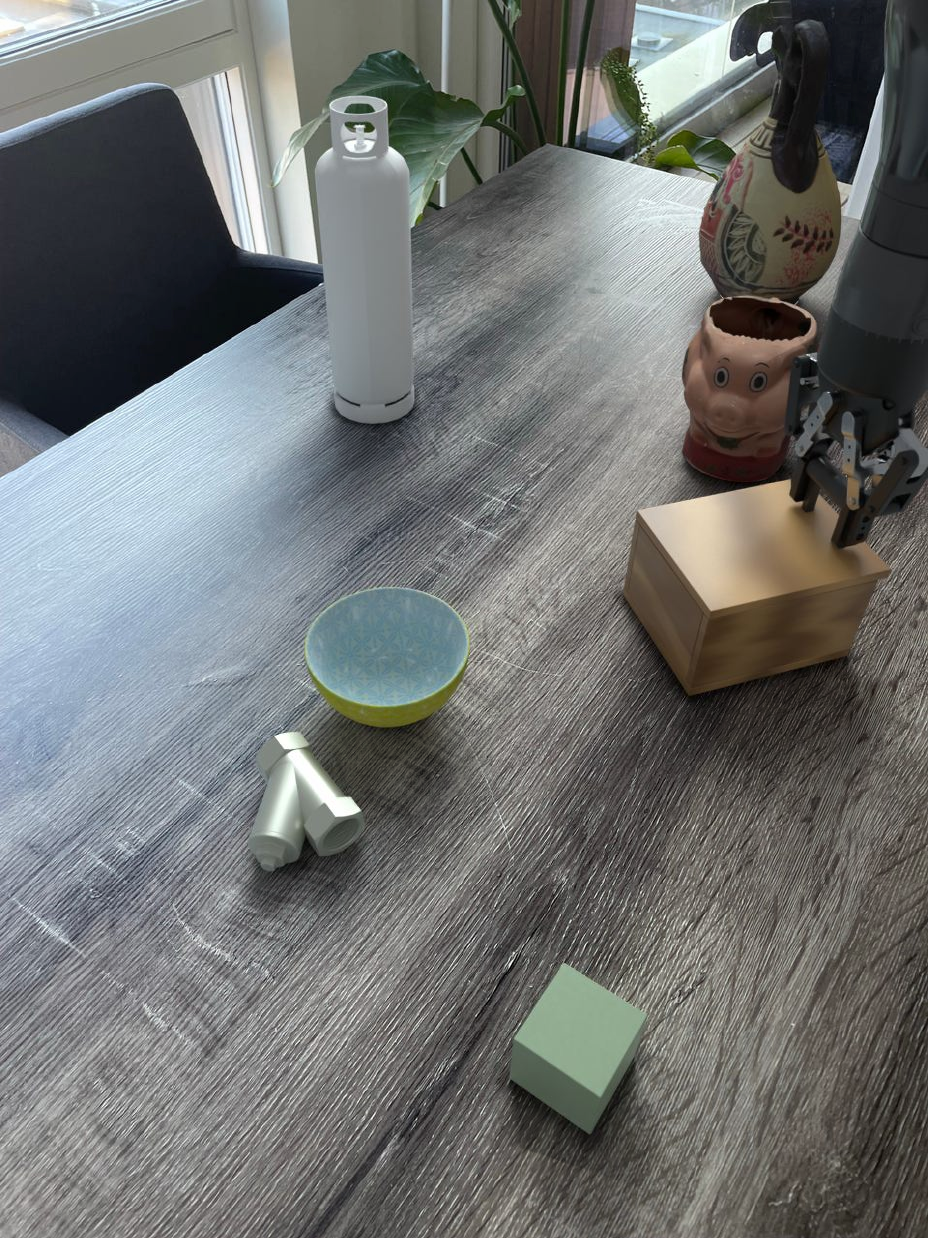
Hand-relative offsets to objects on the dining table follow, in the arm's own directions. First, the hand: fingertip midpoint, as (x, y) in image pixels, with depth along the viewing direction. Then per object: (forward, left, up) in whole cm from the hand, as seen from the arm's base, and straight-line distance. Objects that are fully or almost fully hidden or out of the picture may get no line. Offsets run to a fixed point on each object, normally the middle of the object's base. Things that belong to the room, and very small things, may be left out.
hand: (823, 519), depth 74 cm
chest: (+3, +5, -9) cm, 11 cm away
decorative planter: (+13, -18, -9) cm, 25 cm away
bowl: (+20, +27, -9) cm, 35 cm away
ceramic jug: (+23, -47, -9) cm, 54 cm away
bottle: (+46, -4, -9) cm, 47 cm away
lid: (+3, +4, -1) cm, 5 cm away
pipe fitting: (+19, +39, -9) cm, 44 cm away
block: (-4, +42, -9) cm, 43 cm away
